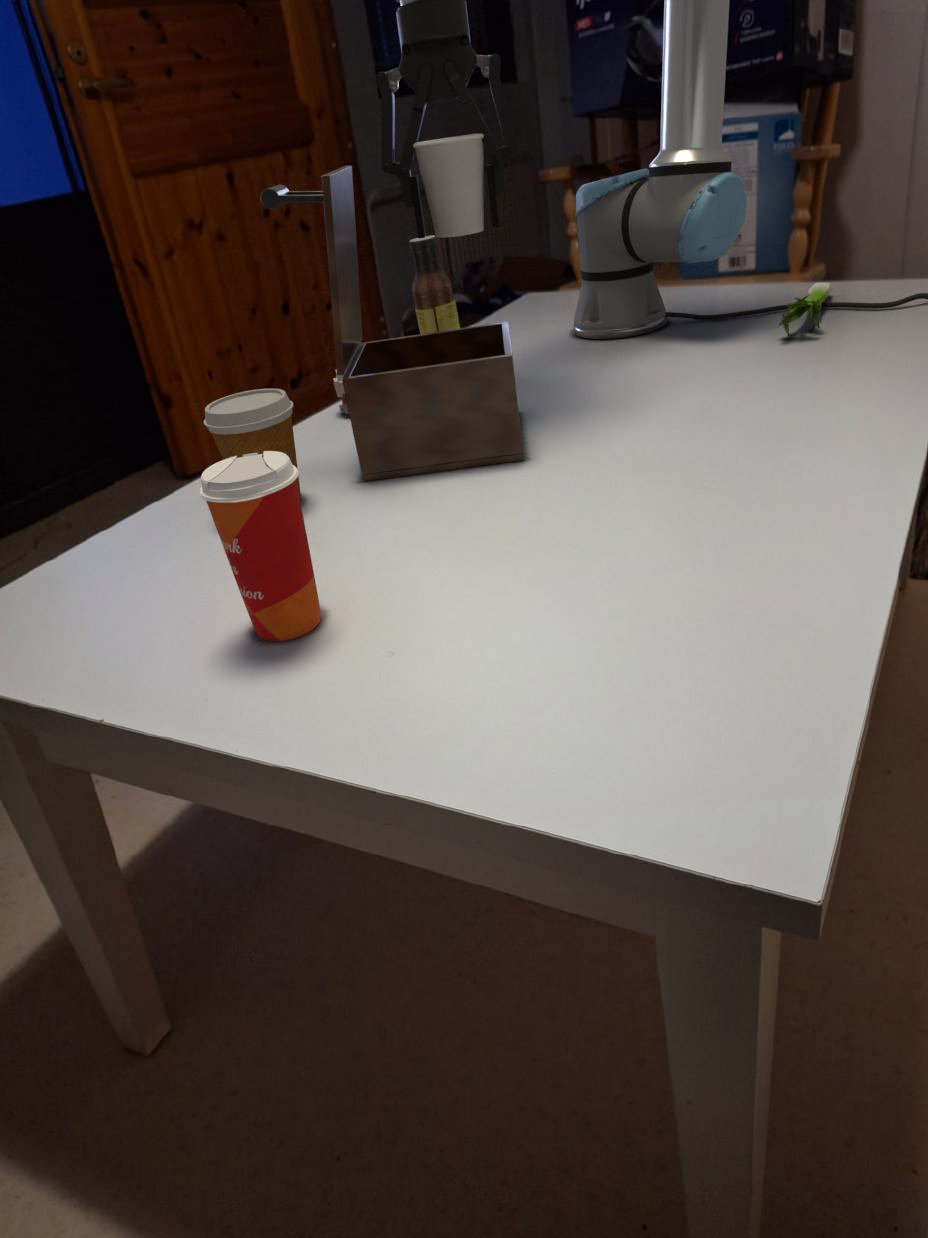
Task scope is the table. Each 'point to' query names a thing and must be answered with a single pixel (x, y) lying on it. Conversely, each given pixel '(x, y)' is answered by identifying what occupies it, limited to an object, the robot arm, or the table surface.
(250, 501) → the paper cup
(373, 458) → the chest
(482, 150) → the dixie cup
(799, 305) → the leek
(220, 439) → the disposable coffee cup
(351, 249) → the lid
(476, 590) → the table surface
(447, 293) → the sauce bottle
